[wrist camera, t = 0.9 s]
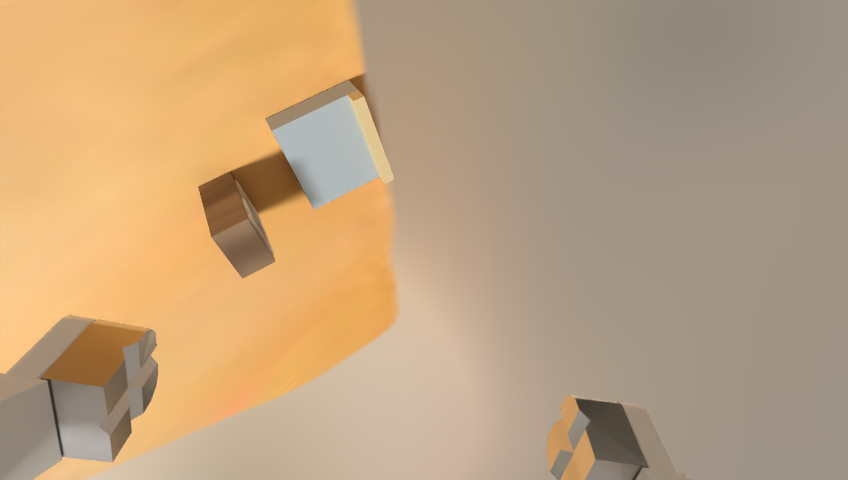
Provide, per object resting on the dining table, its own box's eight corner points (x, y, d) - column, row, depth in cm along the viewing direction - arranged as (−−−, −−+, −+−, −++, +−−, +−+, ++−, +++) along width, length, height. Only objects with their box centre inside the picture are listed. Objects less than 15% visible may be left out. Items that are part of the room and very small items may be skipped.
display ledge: (265, 118, 46) (276, 138, 43) (348, 79, 47) (364, 96, 44) (306, 196, 52) (318, 218, 49) (378, 160, 53) (394, 179, 50)
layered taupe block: (198, 186, 46) (211, 237, 41) (232, 170, 47) (250, 217, 41) (226, 226, 50) (242, 278, 44) (258, 211, 50) (278, 260, 45)
